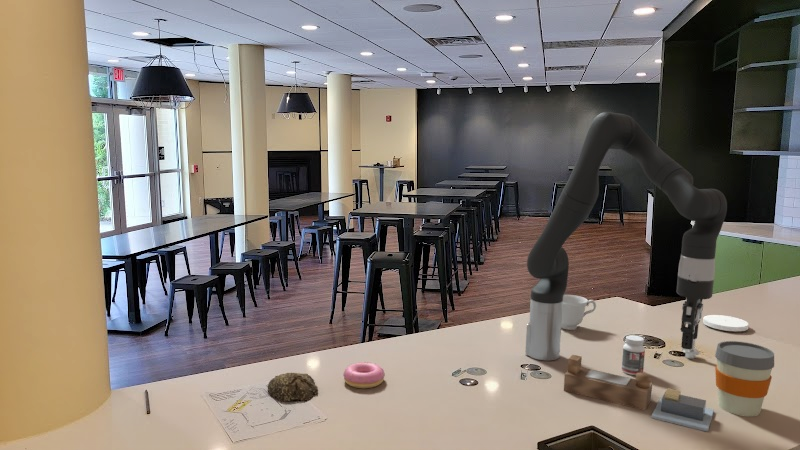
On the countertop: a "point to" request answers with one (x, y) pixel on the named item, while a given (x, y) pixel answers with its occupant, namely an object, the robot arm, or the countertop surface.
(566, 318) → the teacup
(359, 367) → the doughnut
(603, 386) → the plane body
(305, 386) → the mossy brown rock
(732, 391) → the reusable coffee cup
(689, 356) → the screw
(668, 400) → the lever cap
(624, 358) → the pill bottle
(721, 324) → the plastic lid
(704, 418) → the rubber mat
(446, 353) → the countertop surface
